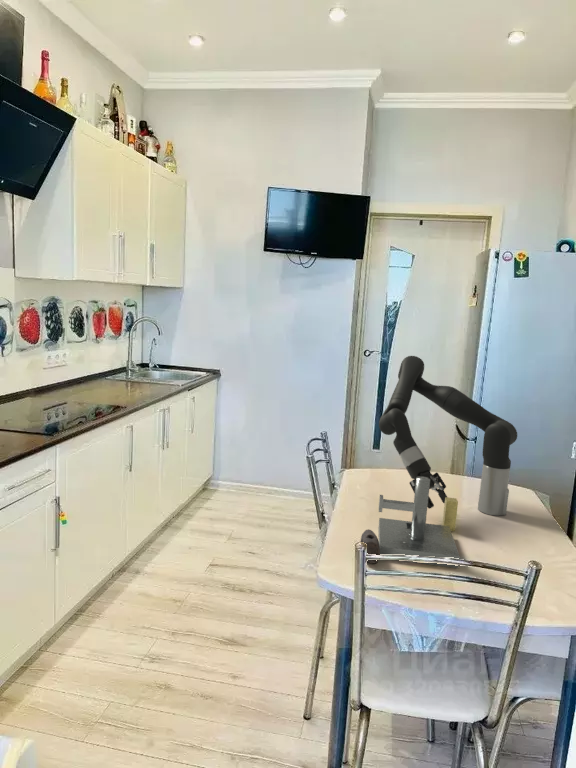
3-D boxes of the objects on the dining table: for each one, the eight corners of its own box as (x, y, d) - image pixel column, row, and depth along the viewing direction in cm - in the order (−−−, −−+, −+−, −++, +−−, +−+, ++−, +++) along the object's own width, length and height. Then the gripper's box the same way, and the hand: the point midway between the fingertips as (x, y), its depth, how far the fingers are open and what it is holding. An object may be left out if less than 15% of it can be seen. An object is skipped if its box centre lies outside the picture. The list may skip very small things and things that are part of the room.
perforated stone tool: (358, 543, 166) (360, 521, 165) (375, 545, 165) (377, 523, 164) (360, 566, 151) (362, 542, 150) (379, 568, 150) (382, 544, 149)
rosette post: (447, 536, 175) (455, 470, 172) (458, 568, 153) (467, 492, 150) (375, 527, 178) (381, 462, 175) (375, 557, 157) (382, 483, 154)
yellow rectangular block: (453, 527, 183) (456, 498, 182) (454, 531, 180) (458, 502, 178) (442, 525, 184) (445, 497, 182) (443, 529, 180) (446, 500, 179)
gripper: (420, 463, 197) (443, 505, 191) (395, 470, 188) (418, 514, 182) (434, 454, 192) (458, 495, 186) (409, 460, 183) (434, 504, 177)
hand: (439, 504), depth 184 cm, fingers open, 8 cm apart
